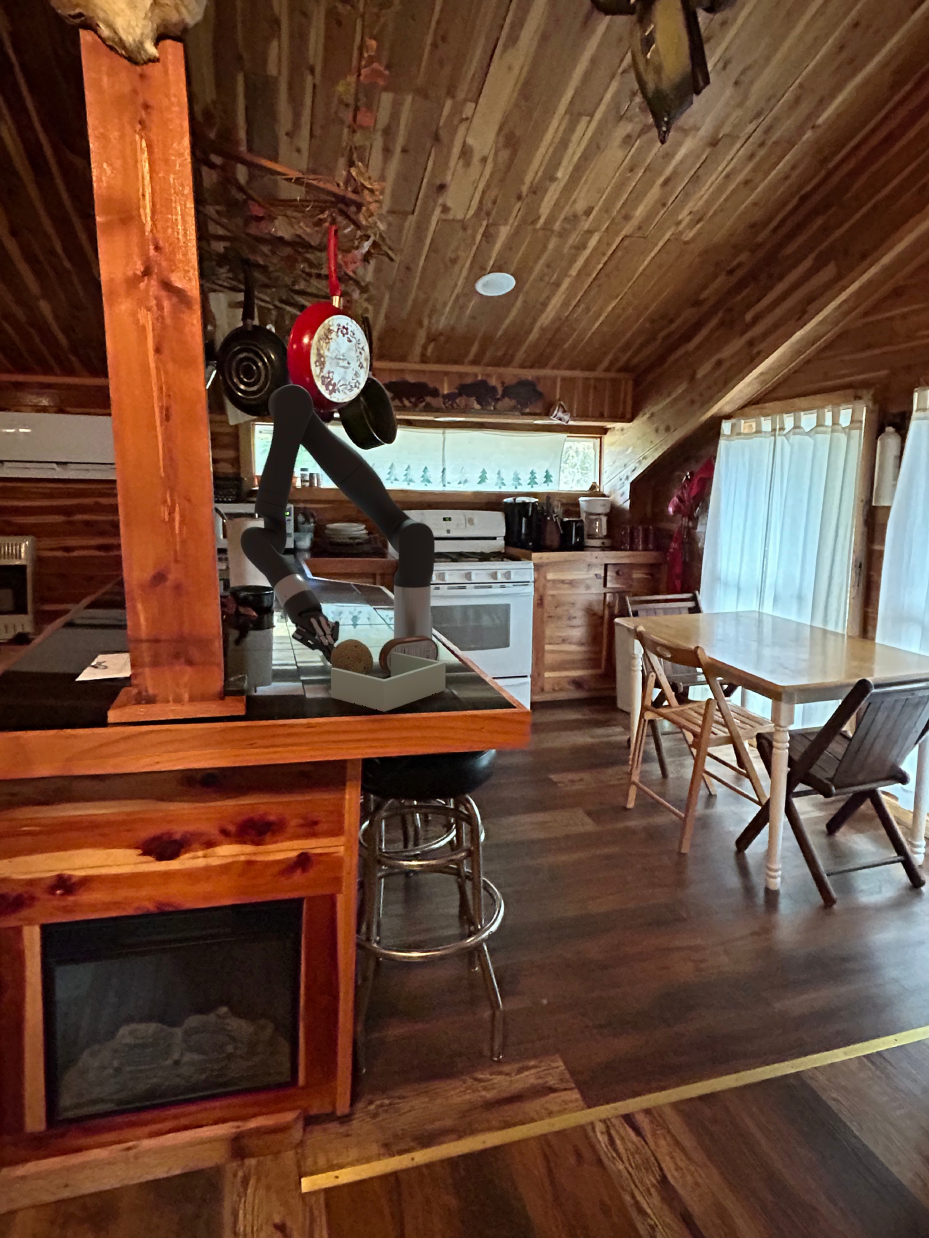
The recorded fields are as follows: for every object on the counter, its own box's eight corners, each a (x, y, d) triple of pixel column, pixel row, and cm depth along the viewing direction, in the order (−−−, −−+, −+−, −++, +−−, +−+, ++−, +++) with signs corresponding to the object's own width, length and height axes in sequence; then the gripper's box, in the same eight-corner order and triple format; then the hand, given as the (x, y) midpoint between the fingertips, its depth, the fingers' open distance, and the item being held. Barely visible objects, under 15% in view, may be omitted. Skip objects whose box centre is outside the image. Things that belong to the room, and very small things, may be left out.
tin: (432, 667, 178) (432, 632, 177) (440, 670, 176) (440, 634, 174) (377, 676, 169) (377, 640, 168) (385, 679, 167) (385, 642, 165)
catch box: (393, 678, 168) (393, 651, 167) (445, 690, 160) (445, 662, 159) (331, 697, 153) (330, 668, 152) (384, 711, 145) (384, 681, 144)
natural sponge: (353, 676, 168) (353, 633, 167) (382, 684, 163) (382, 639, 161) (322, 685, 161) (322, 639, 160) (351, 693, 156) (351, 646, 154)
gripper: (281, 592, 162) (321, 657, 157) (327, 585, 172) (366, 646, 167) (266, 613, 166) (304, 677, 161) (312, 605, 176) (349, 665, 172)
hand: (335, 661), depth 164 cm, fingers closed
